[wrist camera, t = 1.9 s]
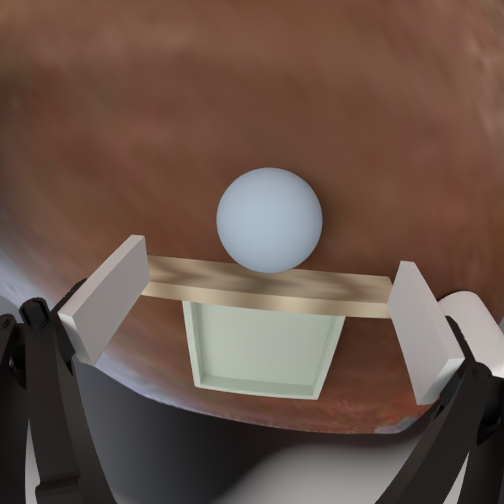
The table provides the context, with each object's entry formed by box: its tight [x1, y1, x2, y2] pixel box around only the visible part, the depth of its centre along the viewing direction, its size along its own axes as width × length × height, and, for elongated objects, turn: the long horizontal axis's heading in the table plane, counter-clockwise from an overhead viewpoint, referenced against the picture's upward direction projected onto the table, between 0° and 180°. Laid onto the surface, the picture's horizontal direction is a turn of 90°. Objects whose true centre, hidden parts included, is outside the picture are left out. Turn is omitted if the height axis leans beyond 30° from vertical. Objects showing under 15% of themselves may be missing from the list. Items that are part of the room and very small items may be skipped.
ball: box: [217, 168, 322, 273], centre depth 20 cm, size 7×7×7 cm
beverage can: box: [437, 291, 504, 378], centre depth 21 cm, size 8×8×12 cm
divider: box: [141, 255, 393, 318], centre depth 24 cm, size 24×2×4 cm, turn 88°
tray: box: [182, 301, 346, 399], centre depth 29 cm, size 14×14×2 cm
